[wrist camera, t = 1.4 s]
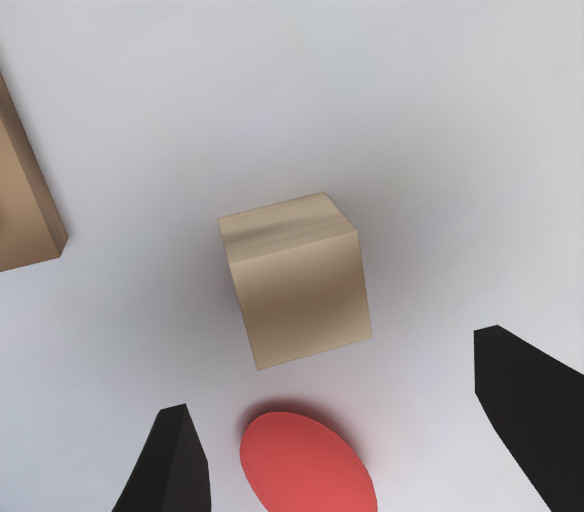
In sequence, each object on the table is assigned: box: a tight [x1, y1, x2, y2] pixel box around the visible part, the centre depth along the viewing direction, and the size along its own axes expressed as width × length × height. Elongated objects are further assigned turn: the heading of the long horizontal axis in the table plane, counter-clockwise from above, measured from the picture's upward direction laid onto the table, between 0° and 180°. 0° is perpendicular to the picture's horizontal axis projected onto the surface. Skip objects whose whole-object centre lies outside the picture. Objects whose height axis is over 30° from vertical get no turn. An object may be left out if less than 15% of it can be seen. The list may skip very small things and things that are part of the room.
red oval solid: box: [240, 412, 378, 512], centre depth 26 cm, size 5×9×6 cm, turn 17°
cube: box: [217, 192, 372, 371], centre depth 21 cm, size 4×4×4 cm
